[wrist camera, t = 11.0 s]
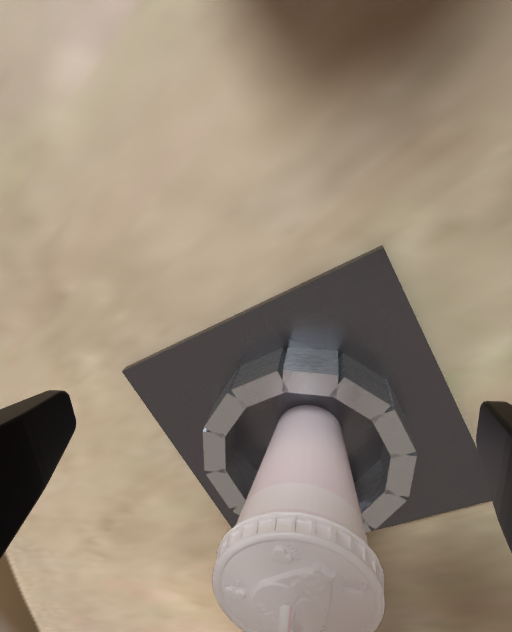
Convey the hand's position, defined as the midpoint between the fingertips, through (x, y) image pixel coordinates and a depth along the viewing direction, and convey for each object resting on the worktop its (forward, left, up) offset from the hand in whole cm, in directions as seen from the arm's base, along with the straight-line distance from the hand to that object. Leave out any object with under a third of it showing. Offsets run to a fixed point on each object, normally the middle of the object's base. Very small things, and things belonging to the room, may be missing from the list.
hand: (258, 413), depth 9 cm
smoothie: (+4, +9, -13) cm, 16 cm away
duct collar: (+4, +9, -13) cm, 16 cm away
